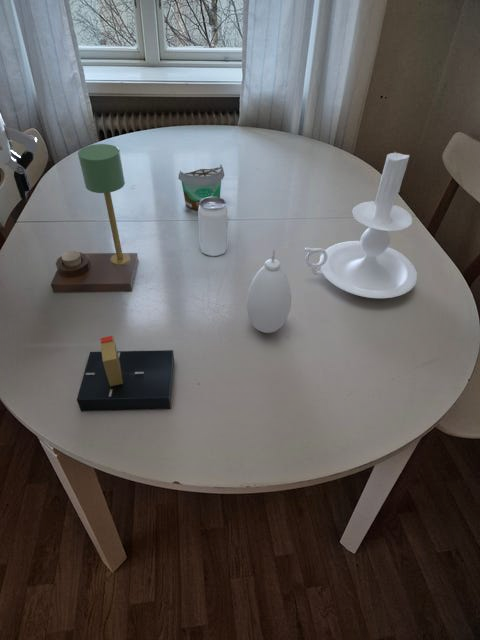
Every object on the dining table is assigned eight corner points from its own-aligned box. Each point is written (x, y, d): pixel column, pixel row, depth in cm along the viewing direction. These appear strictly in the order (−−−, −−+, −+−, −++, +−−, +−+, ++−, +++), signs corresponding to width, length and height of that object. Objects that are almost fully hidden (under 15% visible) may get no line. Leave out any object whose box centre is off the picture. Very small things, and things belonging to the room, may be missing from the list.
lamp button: (61, 267, 89) (59, 260, 87) (66, 257, 91) (64, 250, 90) (79, 267, 89) (77, 260, 88) (83, 257, 91) (81, 250, 90)
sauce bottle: (264, 309, 86) (271, 231, 74) (295, 328, 82) (307, 249, 70) (237, 328, 82) (240, 248, 70) (268, 349, 78) (276, 269, 66)
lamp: (100, 270, 88) (73, 159, 72) (106, 251, 93) (82, 143, 77) (135, 270, 88) (116, 160, 72) (139, 251, 93) (122, 144, 77)
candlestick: (290, 254, 100) (306, 131, 81) (392, 250, 103) (430, 129, 84) (310, 313, 86) (335, 180, 66) (428, 307, 88) (485, 176, 69)
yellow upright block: (123, 384, 68) (116, 357, 64) (110, 386, 67) (102, 360, 63) (119, 361, 71) (112, 334, 67) (107, 363, 71) (99, 337, 66)
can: (225, 240, 104) (225, 194, 96) (229, 256, 99) (229, 209, 91) (198, 242, 103) (196, 196, 95) (201, 258, 99) (199, 211, 90)
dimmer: (80, 411, 67) (76, 399, 65) (93, 363, 75) (89, 350, 73) (170, 409, 68) (168, 397, 66) (174, 361, 75) (173, 349, 73)
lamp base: (53, 292, 88) (47, 277, 86) (66, 261, 96) (61, 246, 94) (132, 291, 89) (129, 276, 86) (138, 260, 97) (136, 246, 94)
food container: (188, 217, 112) (185, 180, 105) (180, 206, 116) (177, 170, 109) (231, 208, 116) (231, 172, 109) (222, 198, 120) (222, 163, 113)
